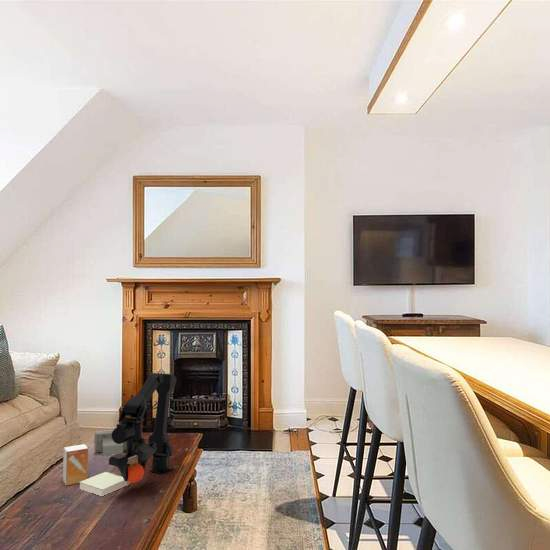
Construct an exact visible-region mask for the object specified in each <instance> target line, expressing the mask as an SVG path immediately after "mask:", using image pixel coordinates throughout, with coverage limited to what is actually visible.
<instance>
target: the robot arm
mask: <svg viewBox="0 0 550 550" xmlns="http://www.w3.org/2000/svg"><path fill="white" fill-rule="evenodd" d="M176 384H177V377H176V376H175V374H174V373H165V372H152V373H149V374H148V378H147V380H146V381H145V382H144V384H143V386H141V388H140V390H139V391H138V392H137V394H136V395H134V396H133V397H130V398H129V399H128V400H127V401H126V402H125V404H124V405H123V406H122V410H121V412H120V415H119V418H118V423H117V424H116V427H115V428H114V429H112V430H113V432H112V439H113V441H114V442H115V443H117V444H121V443H123V442H126V449H125V450H123V454H116V455H110V457H109V458H108V465H109V466H114V467H117V469H118V470H119V472H120V474H121V476H122V477H123V479H124V481H127V480H128V467H129V466H130V464H131V463H129V460H131V459H134V458H135V457H137V463H139V464H140V465H141V466H142V467H143V469H144V470H146V469H145V468H146V465H147V463H148V461H149V459H152V461H151V462H152V463H151V464H152V465H151V467H152V468H150V469H149V471H150V472H152V473H156V474H163V473H167V472H169V471H170V470H172V469H173V467H171V466H170V457H172V456H173V453H174V448H173V446H172V445H171V443H170V436H169V434H168V432H167V430H168V429H167V427H168V418H169V417H168V416H169V410H170V399H171V398H170V397H171V395H172V393H173V392H174V390H175V389H176V388H175V387H176ZM155 391H156V394H157V403H156V412H155V422H154V430H153V432H152V433H151V434H150V435H149V436H148V442H147V443H146V439H145V437H143V422H144V421H145V418H144V416H145V413H146V411H147V408H148V402H149V401H150V399H151V397H152V396H153V395H154V393H155Z"/></svg>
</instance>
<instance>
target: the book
mask: <svg viewBox="0 0 550 550" xmlns="http://www.w3.org/2000/svg"><path fill="white" fill-rule="evenodd" d="M129 484H130V482H129V481H124V479H123V477H122V475H119V474H116V473H112V472H109V471H104V472H101V473H99V474H96V475H94V476H91V477H89V478H88V479H86V480H83V481H81V482H80V483H79V490H80V489H81V490H80V491H83V490H84V491H83V492H86V491H87V492H86V493H89V492H90V493H89V494H92V493H94V494H96V495H95V496H97V495H99V496H98V497H100V496H104V495H106V494H108V493H111V492H113V491H116V490H118V489H120V488H122V487H124V486H127V485H129ZM127 487H128V486H127ZM122 489H123V488H122ZM120 490H121V489H120ZM118 491H119V490H118ZM116 492H117V491H116ZM113 493H114V492H113ZM94 494H93V495H94ZM111 494H112V493H111ZM106 496H107V495H106ZM104 497H105V496H104Z"/></svg>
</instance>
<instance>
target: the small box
mask: <svg viewBox="0 0 550 550" xmlns="http://www.w3.org/2000/svg"><path fill="white" fill-rule="evenodd" d="M62 458H63V464H62V465H63V466H62V481H63V483H64V485H65V486H66V485H67V486H70V485H75V484H80V482H81V481H83V480H86V479H88V474H89V447H88V446H87V445H86V443H83V444H77V445H71V446H65V447H63V457H62Z"/></svg>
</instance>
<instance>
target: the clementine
mask: <svg viewBox="0 0 550 550" xmlns="http://www.w3.org/2000/svg"><path fill="white" fill-rule="evenodd" d="M129 464H130V466H129V467H128V480H127V481H129V483H132V484H135V483H138V482H140V481H141V480H142V479H143V477H144V474H145V469H143V467H142V466H141V465H140V464H139V463H138V462H131V463H129Z"/></svg>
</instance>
